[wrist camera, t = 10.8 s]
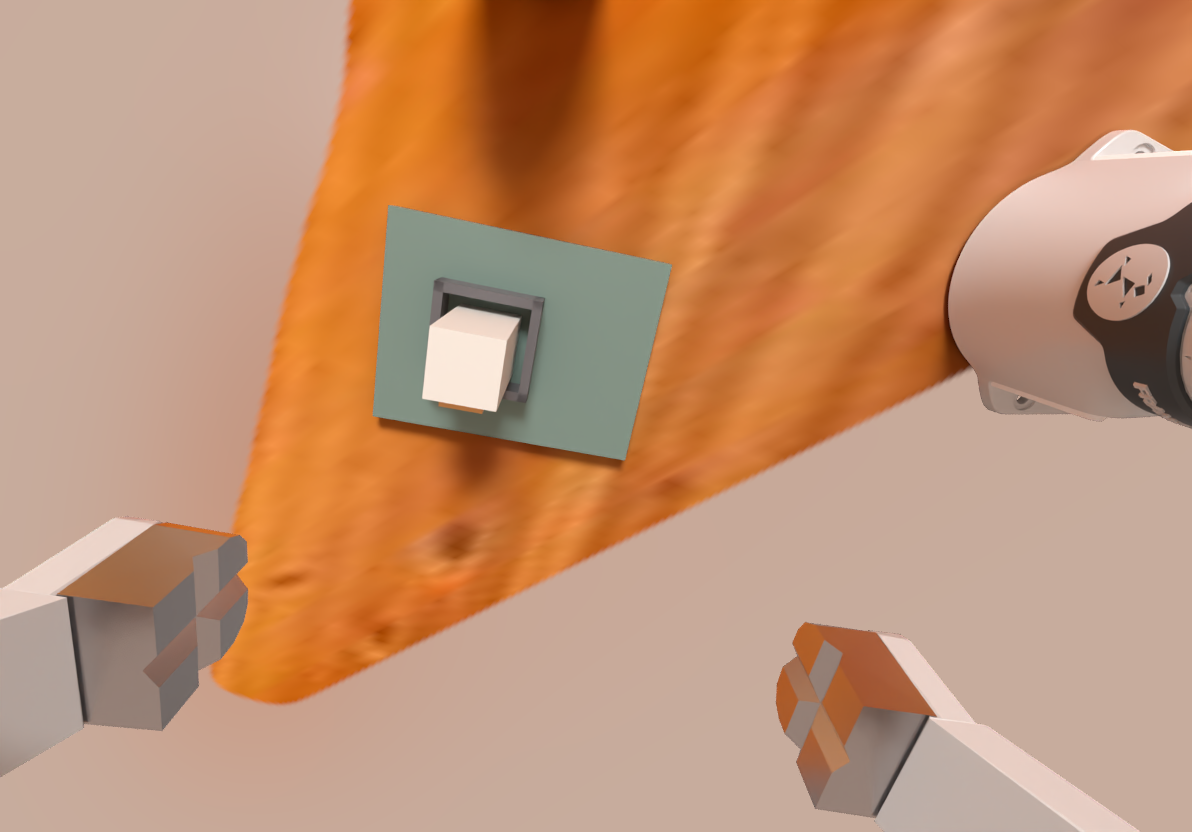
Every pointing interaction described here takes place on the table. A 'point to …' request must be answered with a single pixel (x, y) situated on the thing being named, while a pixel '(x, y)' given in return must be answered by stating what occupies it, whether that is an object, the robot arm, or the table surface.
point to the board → (521, 329)
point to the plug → (471, 358)
